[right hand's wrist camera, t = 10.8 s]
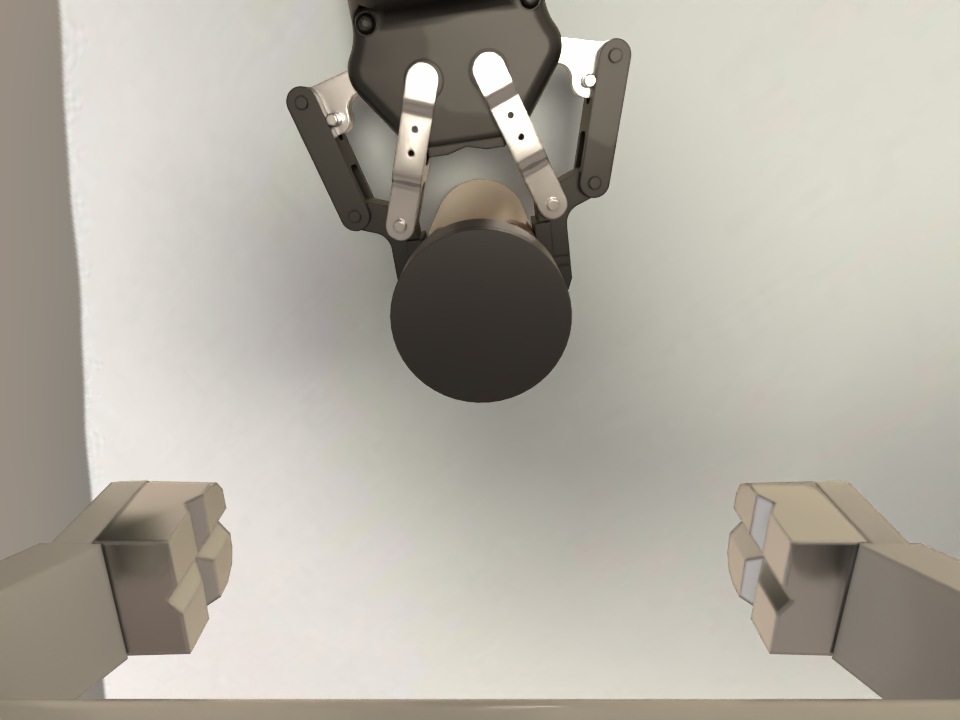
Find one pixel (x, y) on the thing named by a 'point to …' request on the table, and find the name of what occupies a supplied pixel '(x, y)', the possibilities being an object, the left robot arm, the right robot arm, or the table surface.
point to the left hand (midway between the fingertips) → (489, 306)
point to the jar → (481, 205)
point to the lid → (481, 311)
